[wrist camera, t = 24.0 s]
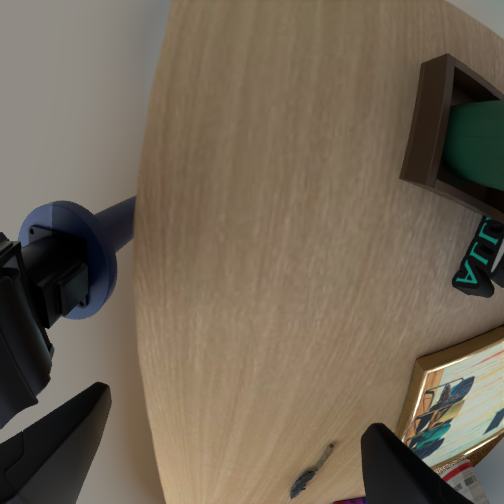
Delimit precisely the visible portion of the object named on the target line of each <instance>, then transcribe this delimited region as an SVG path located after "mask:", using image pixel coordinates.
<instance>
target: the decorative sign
mask: <svg viewBox="0 0 504 504" xmlns="http://www.w3.org/2000/svg"><path fill="white" fill-rule="evenodd" d="M460 268H461V270H462V272H463V273H461V272H457V273H456V274H455V276H454V278H453V280H452V285H453V287H455V288H457V289H458V290H460V291H462V292H464V293H465V294H467V295H475V296H481V297H486V298H490V297H491V296H492V295H493V294H494V289H495V288H494V286H493V284H492V282H491V280H492V281H494V282H495V283H496V284H498V285H499V286H500V287H502V288H504V224H502V223H500V222H498V221H495V220H493V219H491V218H488V217H486V216H483V218H482V221H481V222H480V224H479V227H478V229H477V231H476V233H475V238H474V239H473V240H472V242H471V244H470V246H469V248H468V250H467V253H466V256H465V257H464V258H463V260H462V262H461V266H460ZM490 279H491V280H490Z"/></svg>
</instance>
